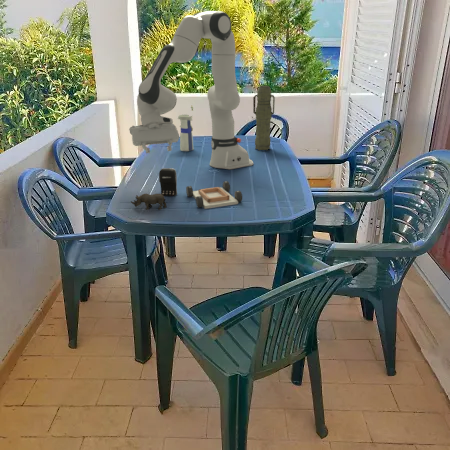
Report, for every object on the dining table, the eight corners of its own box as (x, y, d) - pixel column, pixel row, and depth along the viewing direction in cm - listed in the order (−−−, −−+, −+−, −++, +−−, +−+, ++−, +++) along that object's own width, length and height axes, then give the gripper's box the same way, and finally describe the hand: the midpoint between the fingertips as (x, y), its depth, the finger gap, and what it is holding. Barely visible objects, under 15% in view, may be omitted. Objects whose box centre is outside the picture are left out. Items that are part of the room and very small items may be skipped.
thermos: (252, 146, 260) (253, 85, 246) (272, 147, 259) (275, 85, 244) (251, 150, 252) (253, 87, 238) (272, 150, 251) (275, 87, 236)
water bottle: (187, 146, 260) (185, 103, 250) (196, 149, 255) (195, 105, 245) (176, 149, 255) (174, 105, 245) (186, 151, 250) (184, 107, 239)
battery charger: (159, 196, 182) (157, 170, 178) (161, 193, 186) (159, 167, 181) (176, 197, 182) (174, 170, 177) (177, 194, 185) (176, 168, 181)
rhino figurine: (132, 206, 173) (131, 192, 171) (167, 206, 173) (166, 191, 170) (130, 210, 169) (128, 195, 167) (165, 210, 169) (165, 195, 167)
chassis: (225, 189, 190) (225, 179, 189) (242, 203, 175) (242, 192, 173) (186, 194, 184) (185, 184, 183) (199, 209, 169) (199, 198, 167)
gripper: (128, 121, 186) (135, 149, 181) (175, 118, 193) (183, 145, 188) (128, 130, 191) (134, 157, 187) (173, 126, 198) (180, 153, 194)
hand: (159, 151), depth 188 cm, fingers open, 8 cm apart
